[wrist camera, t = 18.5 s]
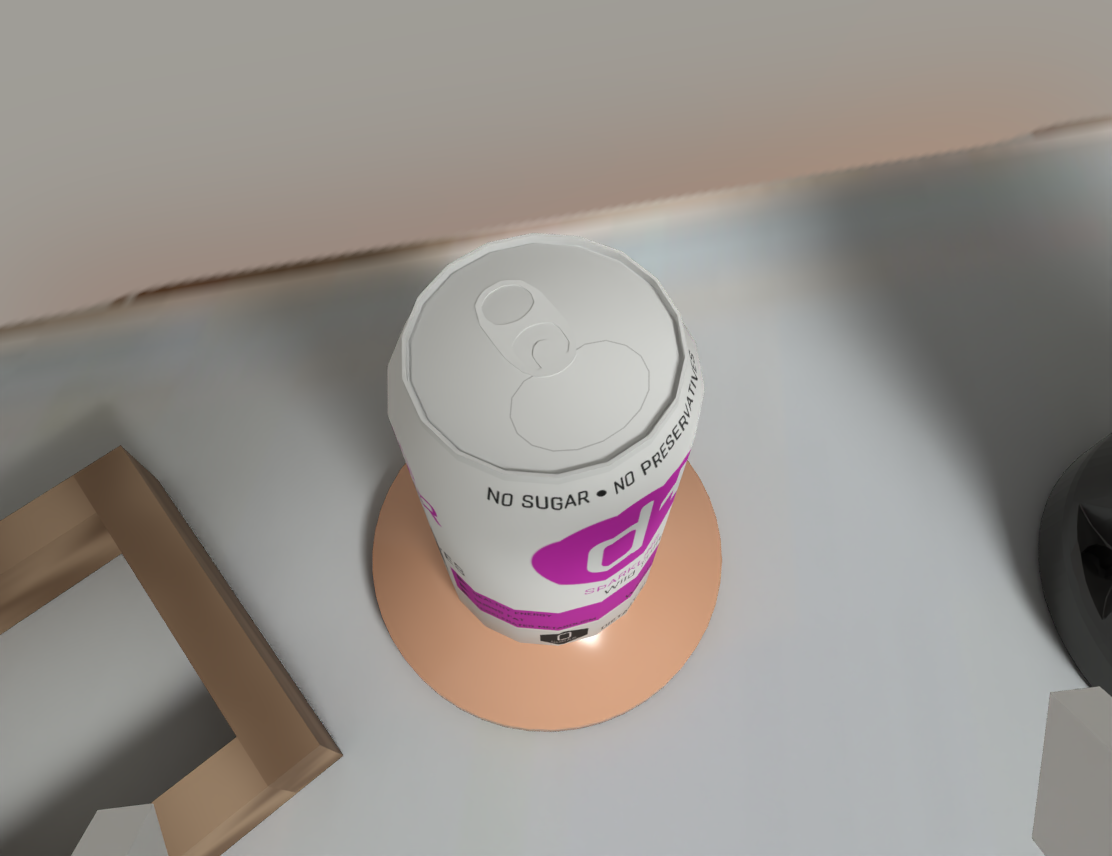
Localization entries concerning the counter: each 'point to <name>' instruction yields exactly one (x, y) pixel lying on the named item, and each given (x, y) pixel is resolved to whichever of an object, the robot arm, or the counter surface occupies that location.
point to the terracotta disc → (535, 669)
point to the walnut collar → (199, 628)
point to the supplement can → (546, 428)
